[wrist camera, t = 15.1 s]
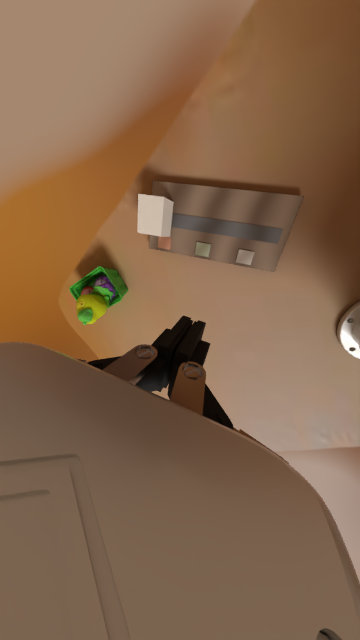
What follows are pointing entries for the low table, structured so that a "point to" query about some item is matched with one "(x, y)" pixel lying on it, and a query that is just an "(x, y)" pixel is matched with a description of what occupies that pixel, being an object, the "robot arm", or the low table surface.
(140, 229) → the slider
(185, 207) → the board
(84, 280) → the fruit basket
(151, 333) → the low table surface
